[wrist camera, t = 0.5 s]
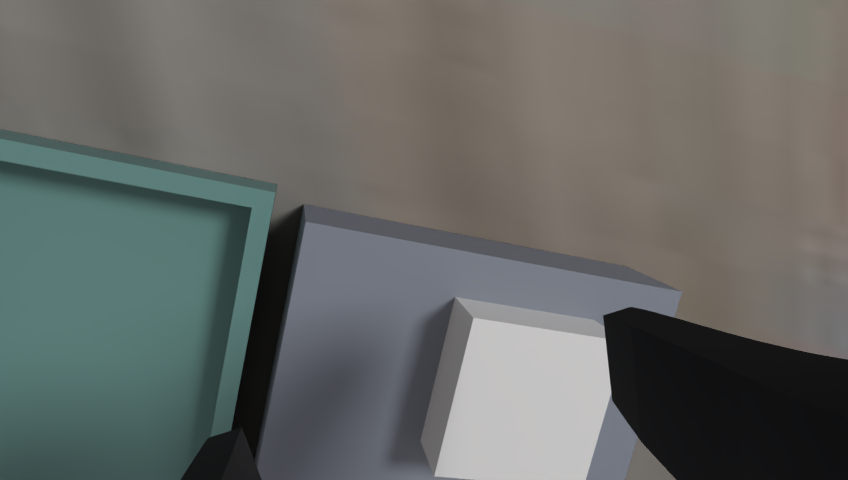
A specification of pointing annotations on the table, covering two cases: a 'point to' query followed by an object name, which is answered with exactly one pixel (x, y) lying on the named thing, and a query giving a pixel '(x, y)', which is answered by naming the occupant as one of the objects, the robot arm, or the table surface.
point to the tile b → (516, 395)
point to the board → (409, 340)
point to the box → (120, 309)
